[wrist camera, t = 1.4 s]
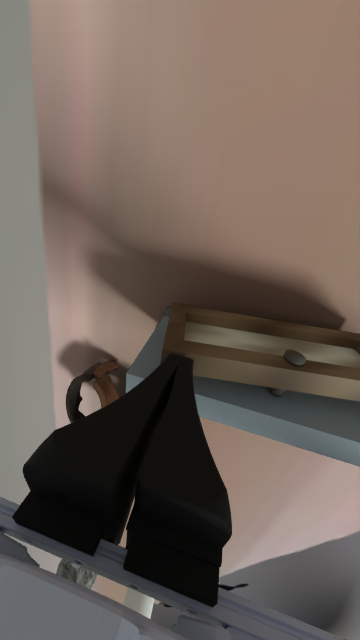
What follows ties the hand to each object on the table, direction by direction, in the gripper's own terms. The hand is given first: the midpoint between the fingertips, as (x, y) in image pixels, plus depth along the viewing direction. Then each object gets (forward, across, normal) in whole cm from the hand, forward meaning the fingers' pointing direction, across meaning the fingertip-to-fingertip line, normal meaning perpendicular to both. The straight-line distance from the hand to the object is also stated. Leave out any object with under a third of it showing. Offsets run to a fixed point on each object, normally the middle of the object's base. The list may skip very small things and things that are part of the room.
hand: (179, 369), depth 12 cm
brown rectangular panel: (+8, -6, +1) cm, 9 cm away
